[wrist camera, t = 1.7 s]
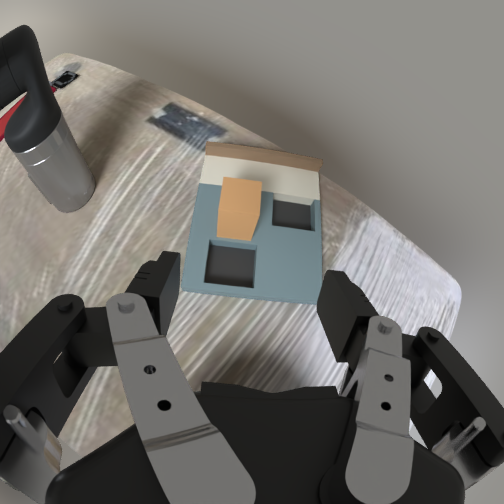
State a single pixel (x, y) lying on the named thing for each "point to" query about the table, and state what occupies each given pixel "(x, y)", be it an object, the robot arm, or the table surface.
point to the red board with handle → (59, 82)
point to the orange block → (238, 208)
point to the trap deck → (258, 228)
